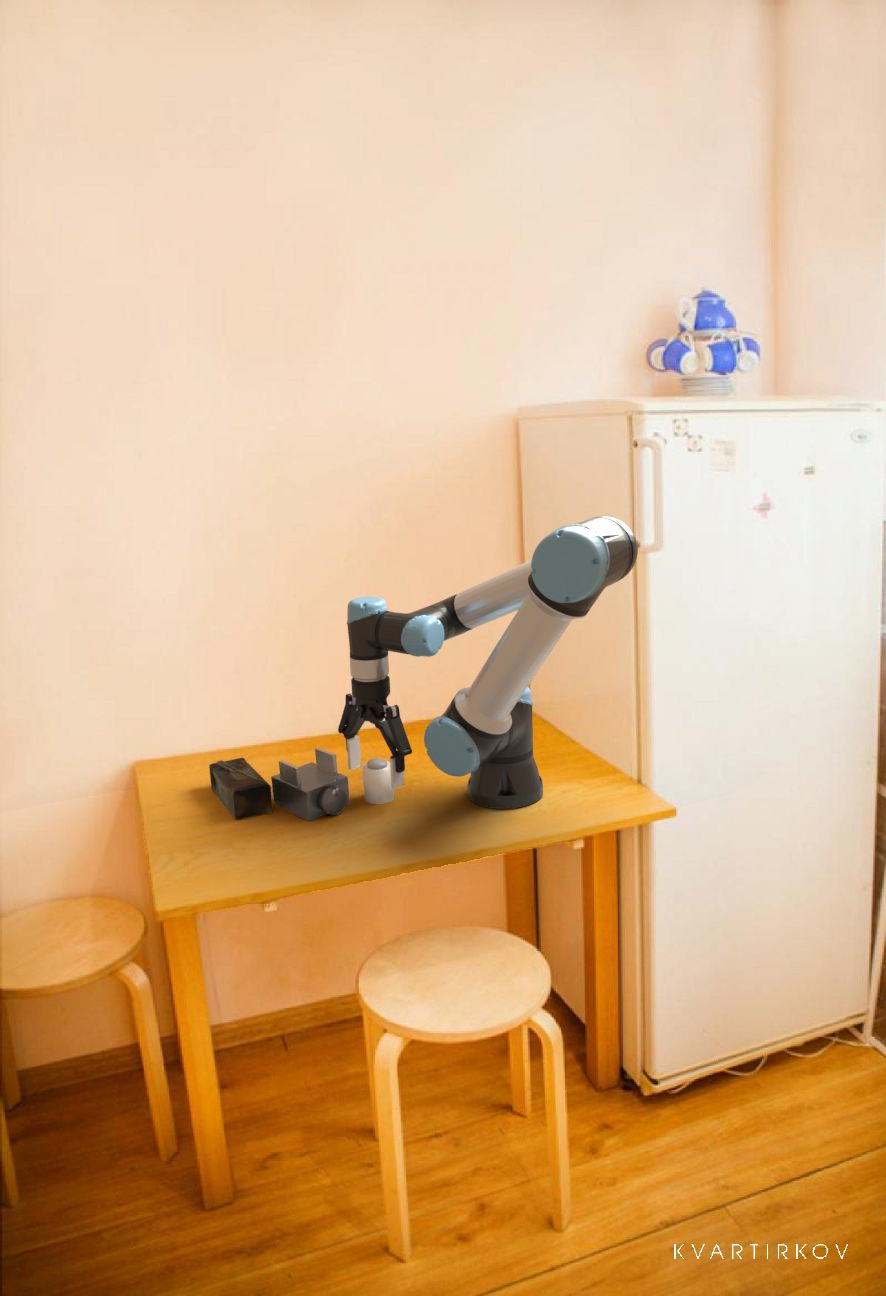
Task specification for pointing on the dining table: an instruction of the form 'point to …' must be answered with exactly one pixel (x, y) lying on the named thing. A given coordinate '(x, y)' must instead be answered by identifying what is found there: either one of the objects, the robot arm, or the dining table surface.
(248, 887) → the dining table surface
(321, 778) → the motor
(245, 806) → the beverage carton
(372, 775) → the white cylindrical container
